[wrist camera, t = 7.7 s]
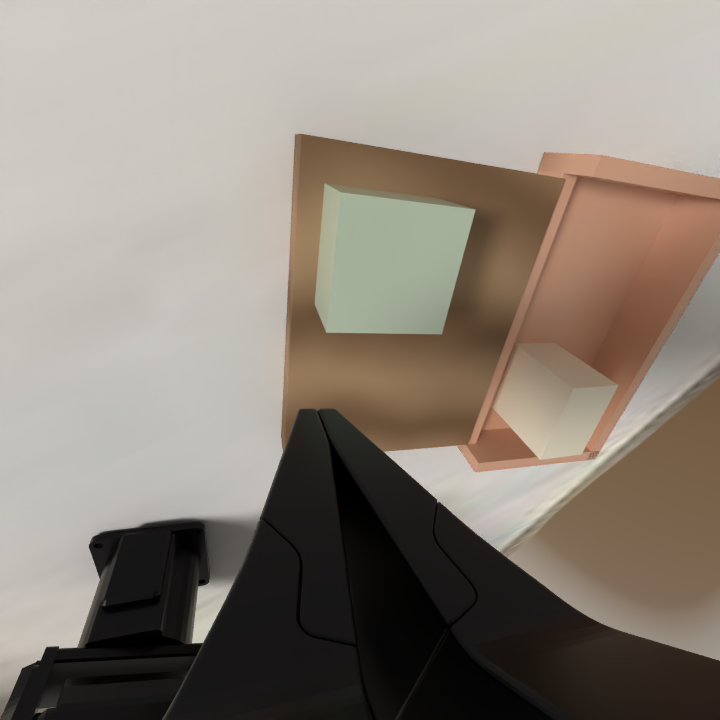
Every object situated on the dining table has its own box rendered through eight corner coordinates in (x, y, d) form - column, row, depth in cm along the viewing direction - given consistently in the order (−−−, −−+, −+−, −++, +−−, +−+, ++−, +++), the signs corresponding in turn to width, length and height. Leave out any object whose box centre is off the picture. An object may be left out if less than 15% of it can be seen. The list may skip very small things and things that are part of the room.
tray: (560, 427, 29) (595, 459, 27) (450, 435, 27) (475, 472, 24) (687, 179, 21) (758, 186, 18) (544, 152, 18) (601, 155, 15)
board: (453, 425, 26) (467, 444, 24) (281, 436, 23) (284, 459, 21) (536, 175, 18) (565, 178, 17) (295, 134, 15) (301, 133, 13)
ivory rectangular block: (492, 407, 25) (528, 404, 26) (540, 460, 21) (581, 454, 22) (514, 343, 23) (554, 342, 24) (573, 388, 19) (618, 385, 20)
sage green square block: (415, 307, 18) (441, 334, 16) (314, 303, 17) (326, 332, 14) (439, 198, 16) (475, 209, 13) (324, 182, 14) (340, 192, 12)
